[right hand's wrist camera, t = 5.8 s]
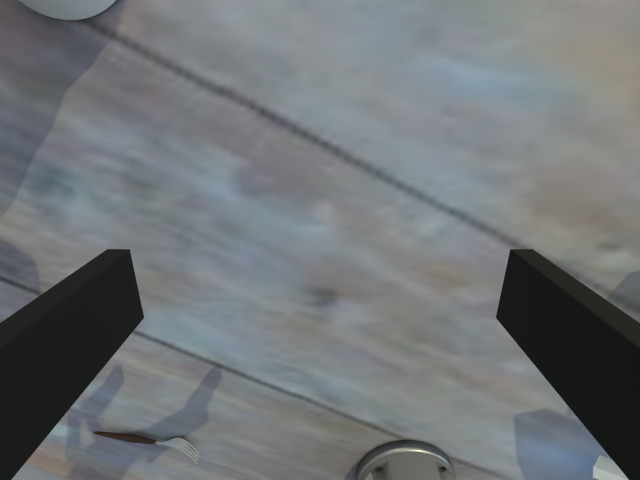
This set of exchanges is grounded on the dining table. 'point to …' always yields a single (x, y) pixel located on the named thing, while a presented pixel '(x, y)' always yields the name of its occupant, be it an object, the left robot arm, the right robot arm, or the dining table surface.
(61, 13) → the left robot arm
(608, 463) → the white plastic object
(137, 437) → the fork
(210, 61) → the dining table surface
